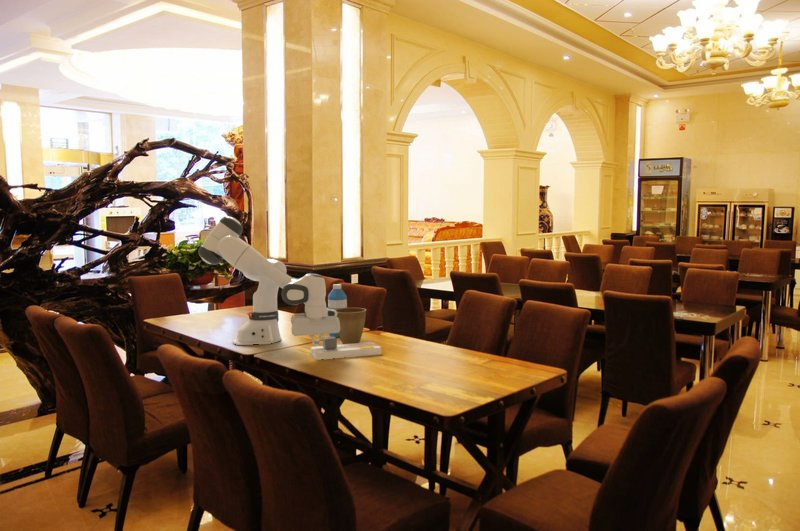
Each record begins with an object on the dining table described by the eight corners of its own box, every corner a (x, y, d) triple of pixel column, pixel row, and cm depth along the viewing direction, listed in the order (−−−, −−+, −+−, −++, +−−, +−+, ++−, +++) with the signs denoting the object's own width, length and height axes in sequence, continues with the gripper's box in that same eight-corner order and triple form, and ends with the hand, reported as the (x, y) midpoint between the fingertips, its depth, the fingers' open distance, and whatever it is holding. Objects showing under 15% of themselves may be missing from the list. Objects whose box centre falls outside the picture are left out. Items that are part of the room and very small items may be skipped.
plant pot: (363, 340, 294) (363, 306, 292) (369, 346, 279) (368, 311, 278) (332, 341, 291) (331, 307, 289) (336, 348, 276) (335, 313, 275)
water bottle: (349, 333, 311) (348, 283, 308) (345, 336, 301) (344, 285, 299) (330, 332, 312) (329, 283, 309) (326, 336, 302) (325, 285, 300)
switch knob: (325, 353, 260) (325, 339, 259) (322, 350, 265) (322, 337, 264) (336, 352, 262) (336, 338, 261) (334, 349, 266) (333, 336, 266)
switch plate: (316, 360, 255) (316, 352, 255) (310, 353, 267) (310, 346, 266) (381, 354, 265) (381, 346, 265) (372, 348, 276) (372, 341, 276)
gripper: (292, 314, 253) (292, 348, 254) (340, 311, 260) (341, 344, 261) (289, 312, 259) (290, 345, 260) (337, 309, 266) (337, 341, 267)
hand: (316, 344), depth 261 cm, fingers closed
